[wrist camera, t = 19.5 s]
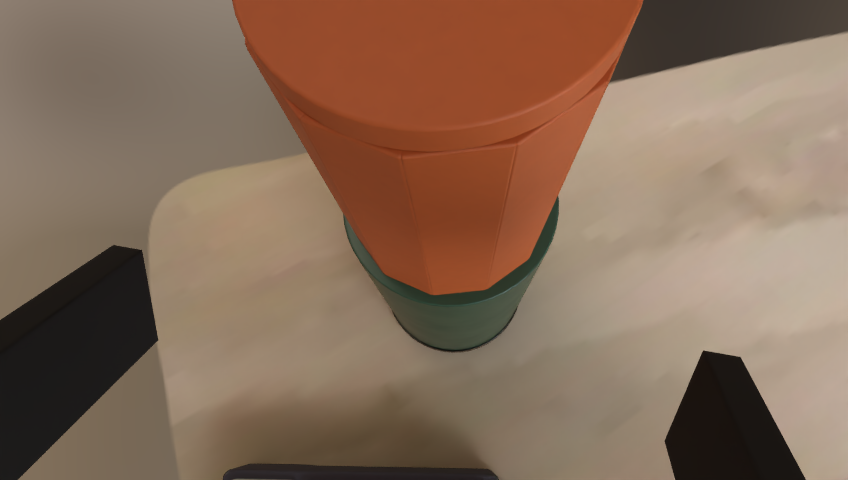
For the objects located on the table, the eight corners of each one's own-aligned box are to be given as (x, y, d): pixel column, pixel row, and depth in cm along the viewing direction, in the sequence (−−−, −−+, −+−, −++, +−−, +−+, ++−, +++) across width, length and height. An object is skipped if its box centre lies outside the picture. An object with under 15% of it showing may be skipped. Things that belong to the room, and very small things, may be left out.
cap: (572, 154, 21) (706, -152, 10) (501, 326, 19) (562, 199, 8) (403, 92, 22) (344, -240, 11) (321, 247, 20) (147, 40, 9)
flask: (539, 253, 35) (614, 105, 18) (489, 375, 33) (520, 336, 16) (421, 205, 37) (388, 27, 20) (366, 319, 35) (275, 229, 18)
